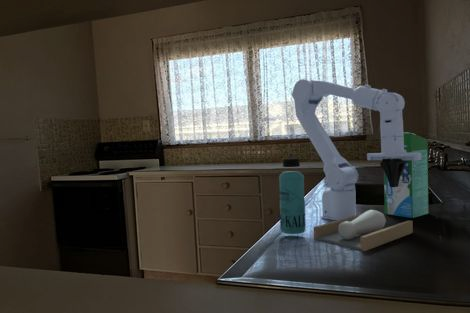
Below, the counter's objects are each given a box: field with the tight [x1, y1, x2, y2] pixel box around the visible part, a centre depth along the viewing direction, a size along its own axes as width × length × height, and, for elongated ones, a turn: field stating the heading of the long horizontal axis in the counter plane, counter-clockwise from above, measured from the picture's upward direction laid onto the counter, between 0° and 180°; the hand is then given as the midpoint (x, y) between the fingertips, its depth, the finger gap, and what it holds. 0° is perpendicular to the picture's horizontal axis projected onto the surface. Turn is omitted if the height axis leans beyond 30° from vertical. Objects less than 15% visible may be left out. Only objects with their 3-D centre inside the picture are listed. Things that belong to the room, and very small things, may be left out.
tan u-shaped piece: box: [313, 213, 414, 252], centre depth 94 cm, size 14×21×3 cm, turn 128°
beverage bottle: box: [278, 157, 307, 235], centre depth 95 cm, size 6×7×20 cm
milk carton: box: [383, 132, 429, 219], centre depth 116 cm, size 9×9×25 cm
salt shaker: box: [338, 209, 387, 240], centre depth 92 cm, size 6×6×13 cm
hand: (394, 186), depth 103 cm, fingers closed
